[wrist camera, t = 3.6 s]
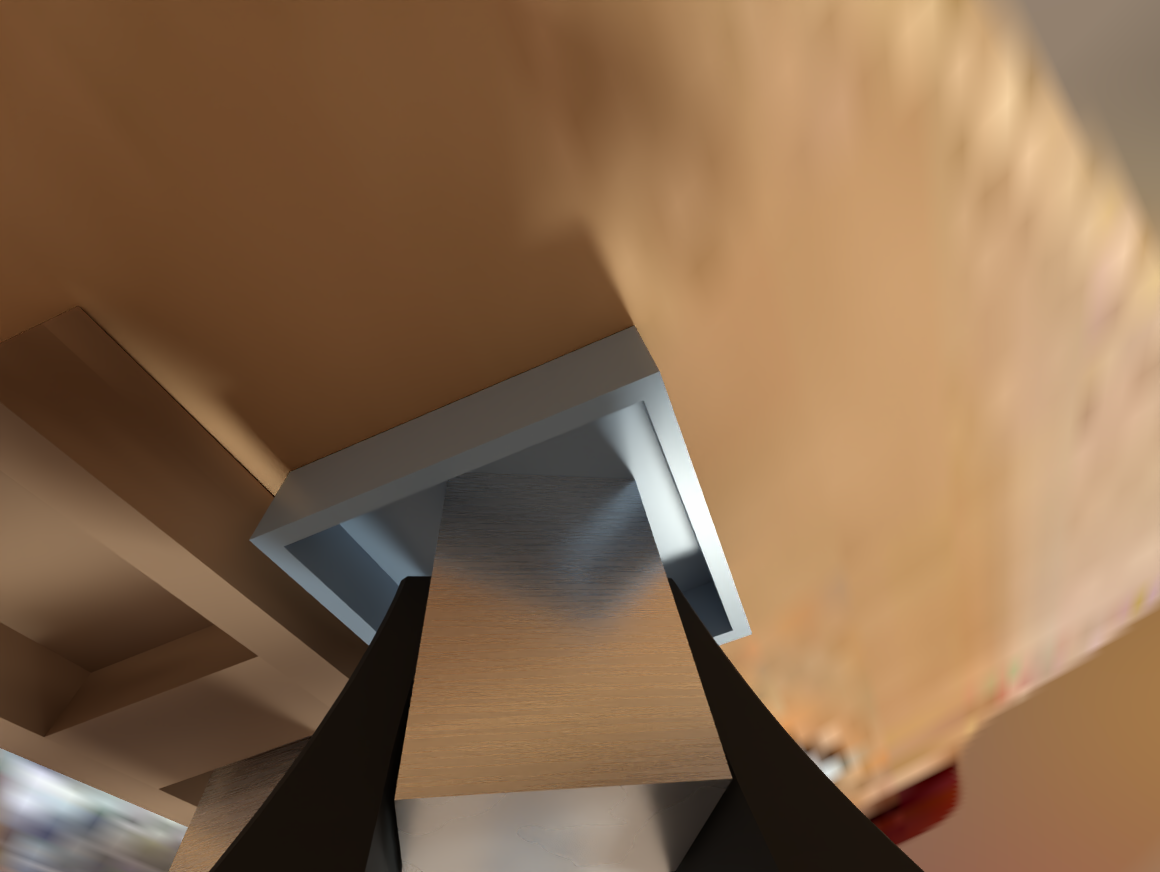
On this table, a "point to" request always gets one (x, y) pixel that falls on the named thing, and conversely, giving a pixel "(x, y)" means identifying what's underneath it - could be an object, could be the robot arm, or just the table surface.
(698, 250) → the table surface
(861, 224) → the table surface
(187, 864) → the billet
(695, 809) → the loose billet
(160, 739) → the pallet
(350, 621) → the tote
